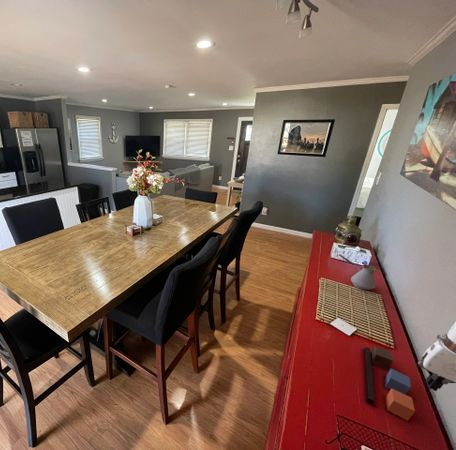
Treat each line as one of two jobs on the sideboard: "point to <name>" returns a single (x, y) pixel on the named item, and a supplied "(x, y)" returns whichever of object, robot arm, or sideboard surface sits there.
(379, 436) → the sideboard surface
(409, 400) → the terracotta block
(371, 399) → the rail
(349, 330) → the coaster
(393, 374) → the slate blue block
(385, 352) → the walnut block
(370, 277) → the coffee pot
